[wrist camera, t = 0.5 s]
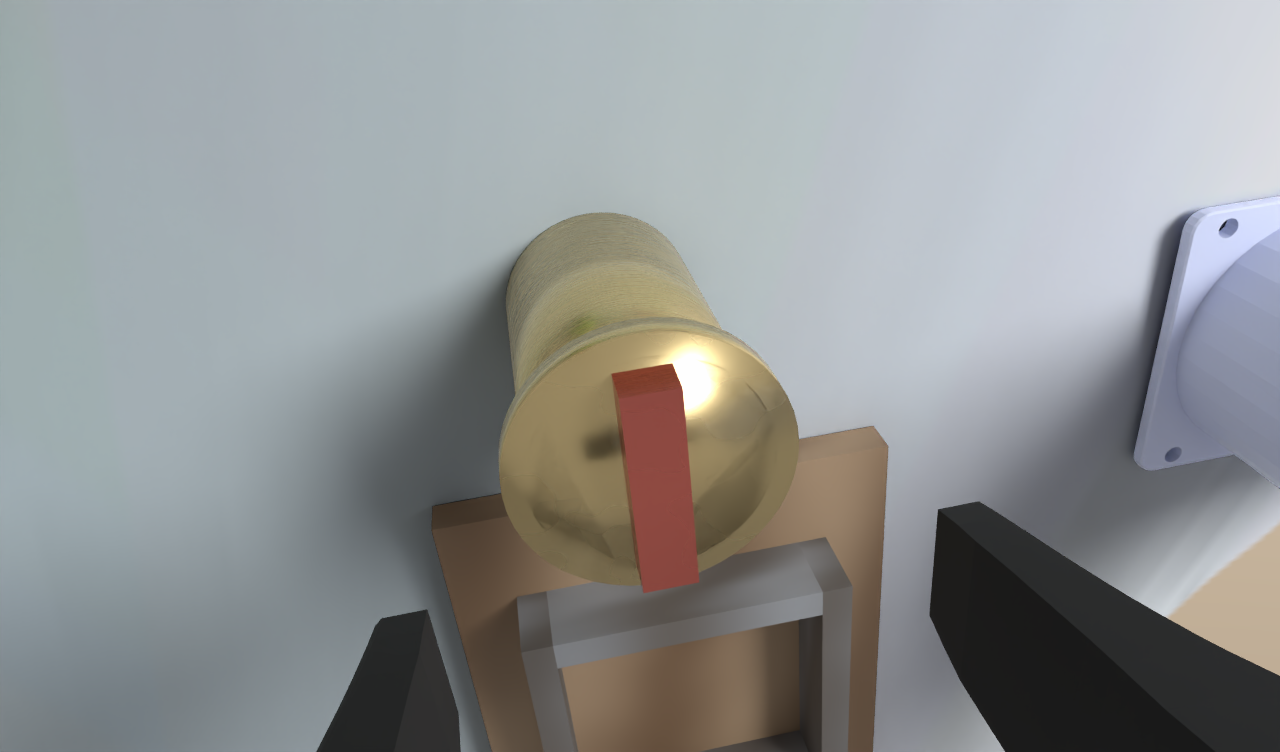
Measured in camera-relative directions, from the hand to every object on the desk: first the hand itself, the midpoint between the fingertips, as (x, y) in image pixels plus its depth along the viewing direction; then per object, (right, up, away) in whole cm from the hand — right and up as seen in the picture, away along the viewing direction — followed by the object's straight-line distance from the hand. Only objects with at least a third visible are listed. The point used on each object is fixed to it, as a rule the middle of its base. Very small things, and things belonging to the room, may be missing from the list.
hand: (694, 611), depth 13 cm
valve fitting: (-2, +5, +9) cm, 10 cm away
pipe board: (0, -6, +16) cm, 17 cm away
